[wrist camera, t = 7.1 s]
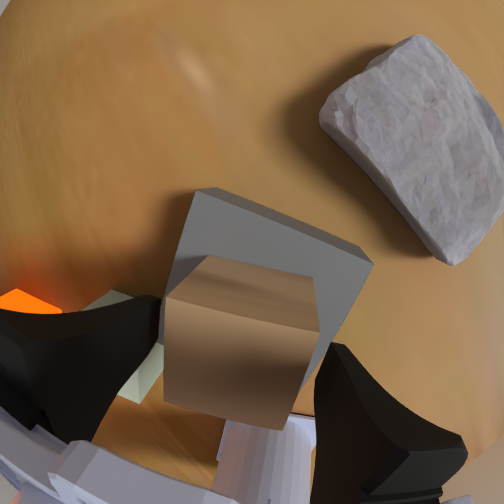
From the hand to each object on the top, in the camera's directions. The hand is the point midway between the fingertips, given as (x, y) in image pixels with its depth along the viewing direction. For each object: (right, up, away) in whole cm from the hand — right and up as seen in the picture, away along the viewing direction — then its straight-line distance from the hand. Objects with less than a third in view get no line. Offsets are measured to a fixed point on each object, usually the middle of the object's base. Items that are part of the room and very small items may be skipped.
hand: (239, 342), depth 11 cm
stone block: (+11, +11, +3) cm, 16 cm away
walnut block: (0, +1, +3) cm, 3 cm away
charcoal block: (+1, +2, +7) cm, 7 cm away
